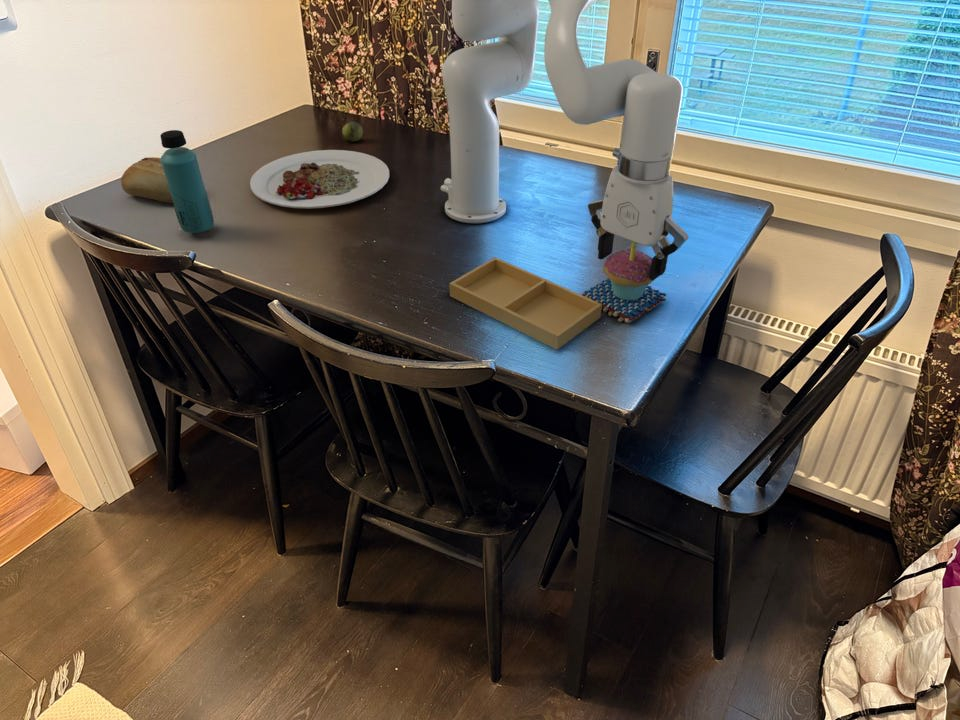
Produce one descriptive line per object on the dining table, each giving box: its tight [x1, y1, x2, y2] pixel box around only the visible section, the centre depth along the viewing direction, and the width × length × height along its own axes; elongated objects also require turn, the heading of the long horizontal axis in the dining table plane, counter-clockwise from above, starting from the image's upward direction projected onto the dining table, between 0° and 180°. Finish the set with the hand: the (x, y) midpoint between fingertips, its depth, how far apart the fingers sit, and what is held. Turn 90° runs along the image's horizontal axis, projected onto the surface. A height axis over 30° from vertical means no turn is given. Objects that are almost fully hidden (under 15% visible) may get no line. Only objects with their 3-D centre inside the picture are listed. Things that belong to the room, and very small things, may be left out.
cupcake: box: [603, 241, 655, 300], centre depth 115 cm, size 9×8×12 cm
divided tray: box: [449, 256, 603, 351], centre depth 118 cm, size 23×12×3 cm, turn 48°
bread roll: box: [120, 157, 174, 204], centre depth 150 cm, size 10×15×8 cm, turn 75°
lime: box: [341, 121, 364, 143], centre depth 176 cm, size 4×5×5 cm
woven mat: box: [581, 277, 667, 324], centre depth 119 cm, size 10×11×2 cm
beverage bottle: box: [160, 129, 215, 234], centre depth 134 cm, size 6×7×20 cm
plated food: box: [249, 149, 390, 209], centre depth 156 cm, size 30×30×3 cm
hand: (629, 266), depth 115 cm, fingers open, 9 cm apart
